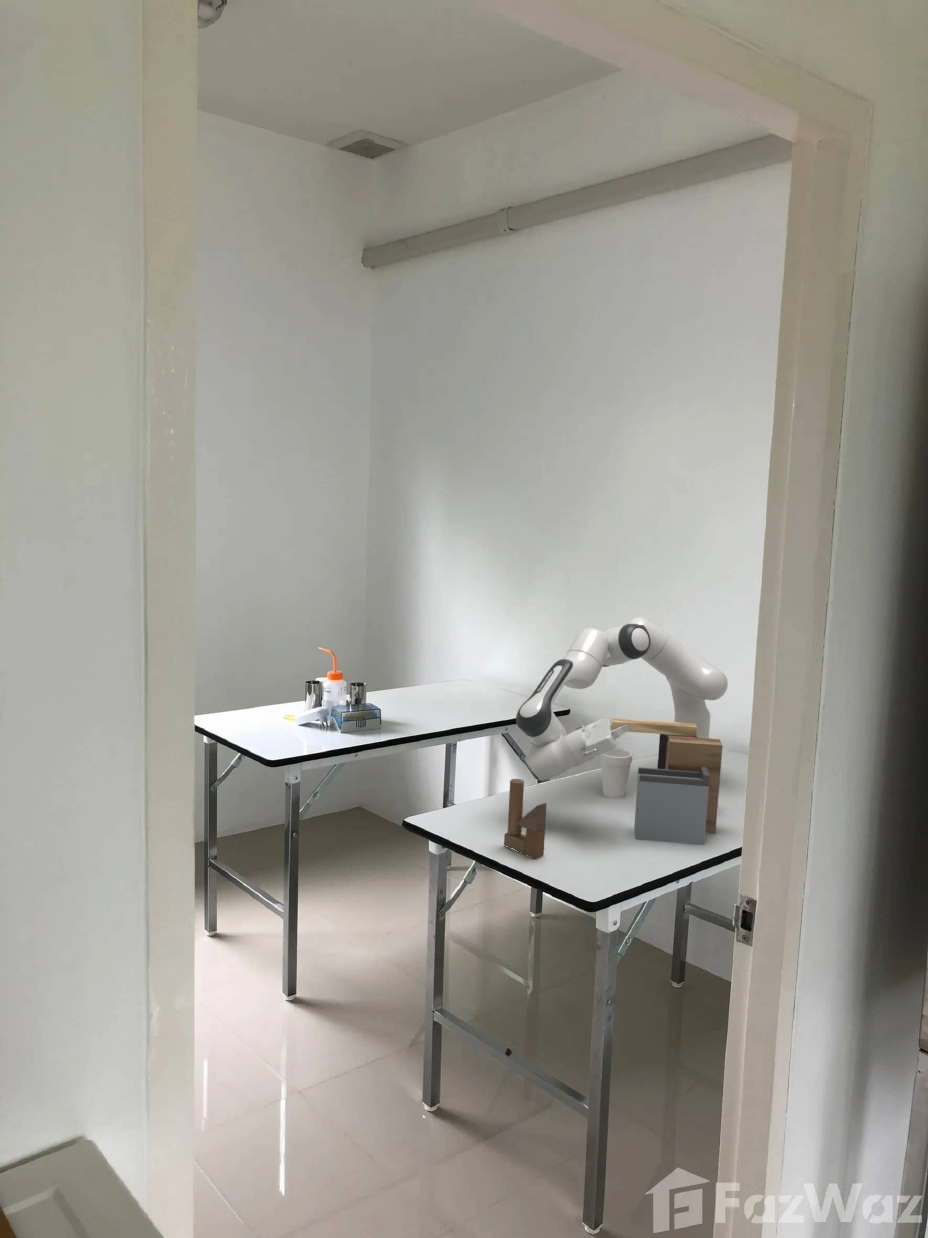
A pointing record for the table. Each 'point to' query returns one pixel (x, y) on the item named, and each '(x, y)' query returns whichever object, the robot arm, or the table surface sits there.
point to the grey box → (671, 805)
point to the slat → (656, 727)
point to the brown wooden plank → (698, 766)
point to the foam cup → (615, 772)
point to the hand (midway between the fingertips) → (628, 724)
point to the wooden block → (525, 823)
